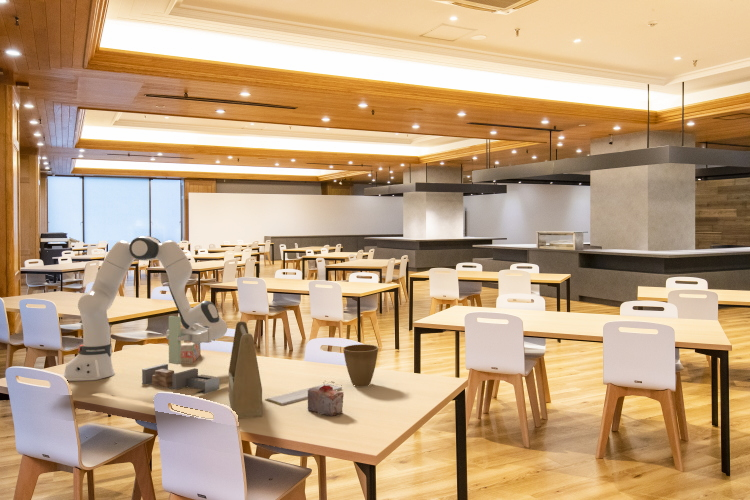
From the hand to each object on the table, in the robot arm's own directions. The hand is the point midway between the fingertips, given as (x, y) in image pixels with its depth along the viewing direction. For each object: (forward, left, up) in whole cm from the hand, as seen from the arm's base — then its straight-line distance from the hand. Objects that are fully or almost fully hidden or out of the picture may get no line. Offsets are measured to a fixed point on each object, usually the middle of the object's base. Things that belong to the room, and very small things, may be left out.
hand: (173, 337), depth 254 cm
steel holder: (+12, -11, -20) cm, 26 cm away
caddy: (+27, -38, -21) cm, 51 cm away
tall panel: (+1, +1, -11) cm, 11 cm away
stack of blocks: (+6, +53, -21) cm, 57 cm away
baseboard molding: (+51, -28, -21) cm, 62 cm away
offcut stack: (-4, -4, -19) cm, 20 cm away
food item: (+55, -54, -21) cm, 80 cm away
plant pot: (+77, -20, -21) cm, 82 cm away
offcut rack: (-1, -1, -20) cm, 20 cm away
